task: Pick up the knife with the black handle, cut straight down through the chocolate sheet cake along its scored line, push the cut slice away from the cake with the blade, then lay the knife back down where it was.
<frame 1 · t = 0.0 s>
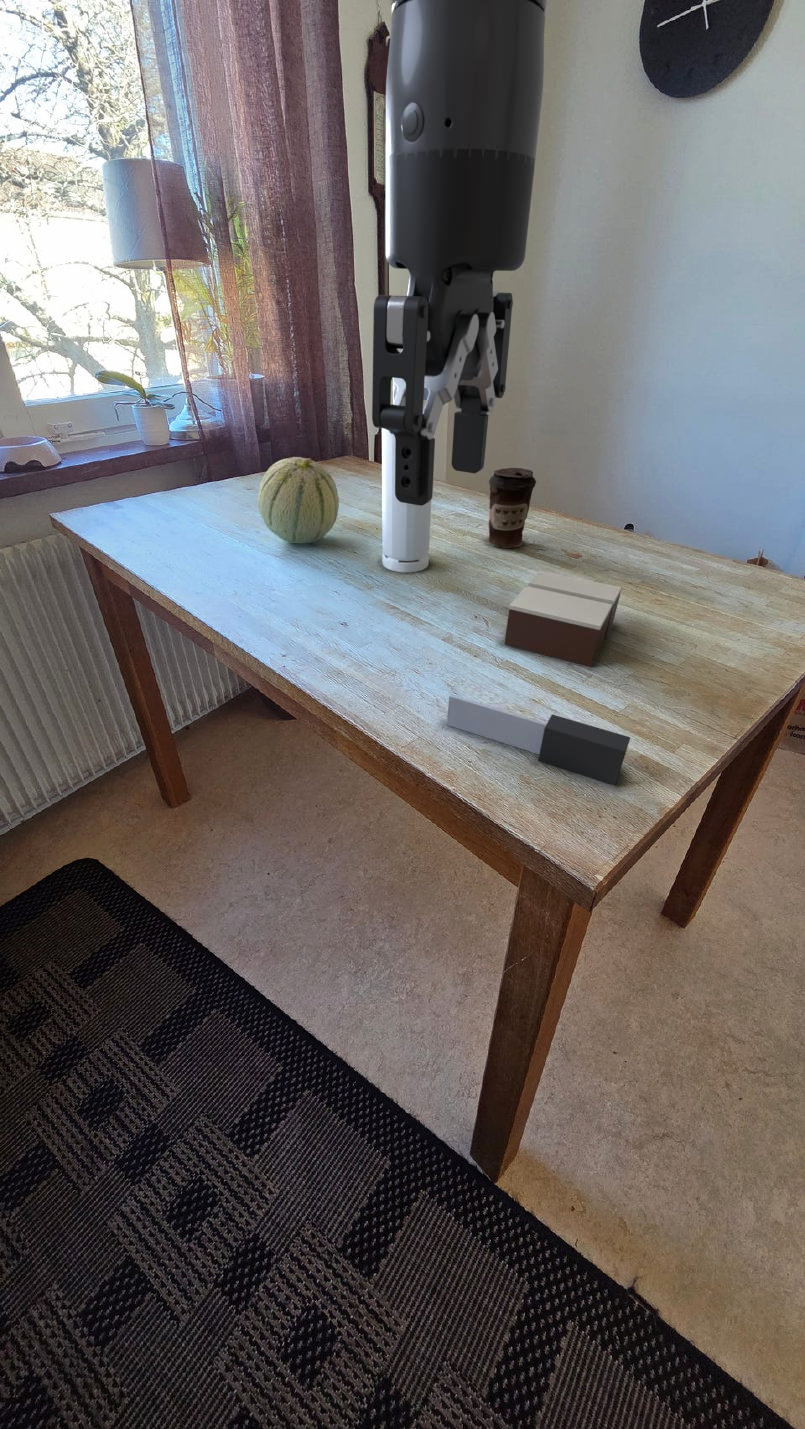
hand: (442, 485, 40), 30 cm above the table, tool pointing down, fingers open, 8 cm apart
knife: (578, 765, 63), on the table
coffee cup: (505, 544, 114), on the table
bottle: (405, 564, 106), on the table
cake slice: (567, 622, 89), on the table
cantaloupe: (302, 541, 114), on the table
cake: (553, 644, 83), on the table
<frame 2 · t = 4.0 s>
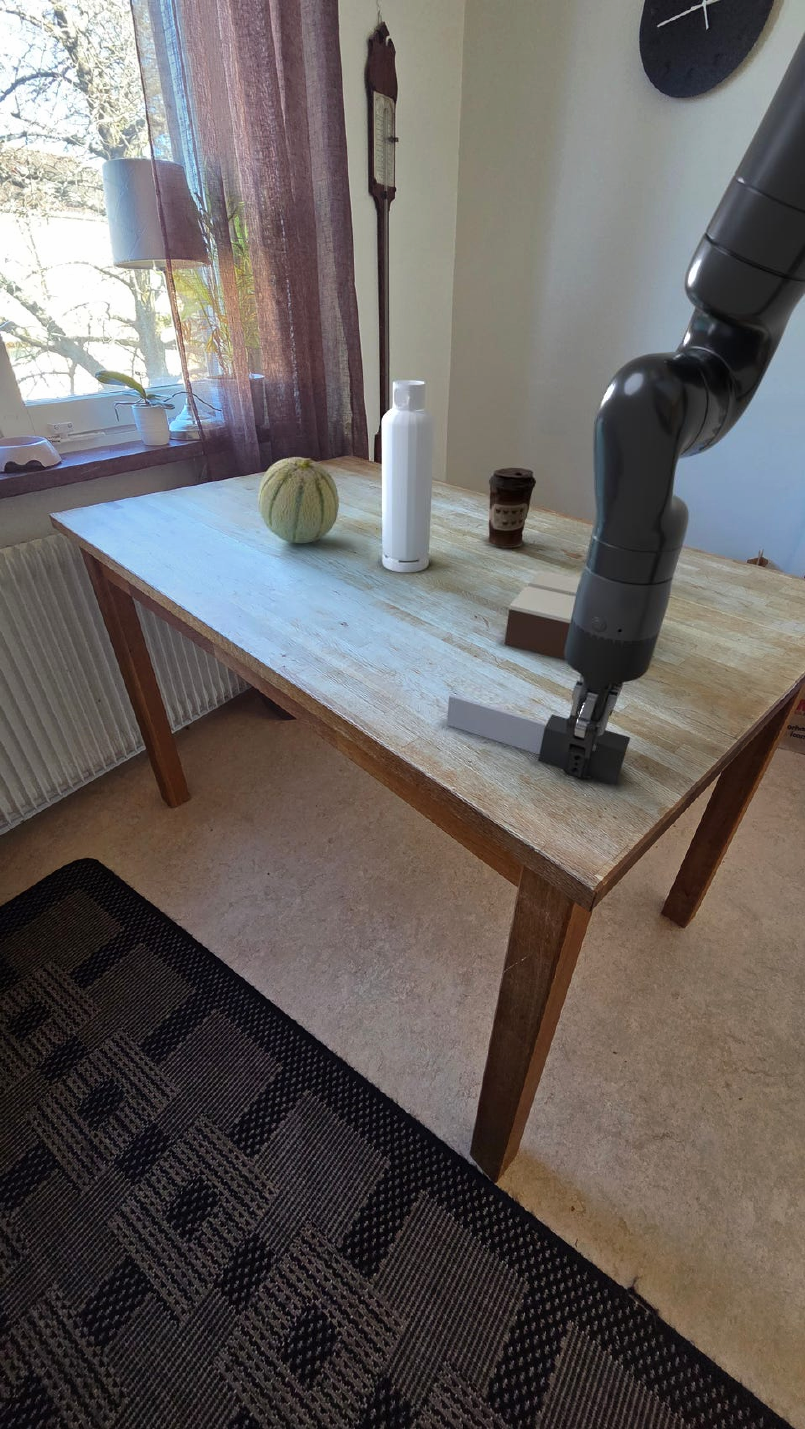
hand: (578, 764, 63), 0 cm above the table, tool pointing down, fingers closed on knife, 2 cm apart
knife: (578, 765, 63), on the table, touching gripper
everything else where it was.
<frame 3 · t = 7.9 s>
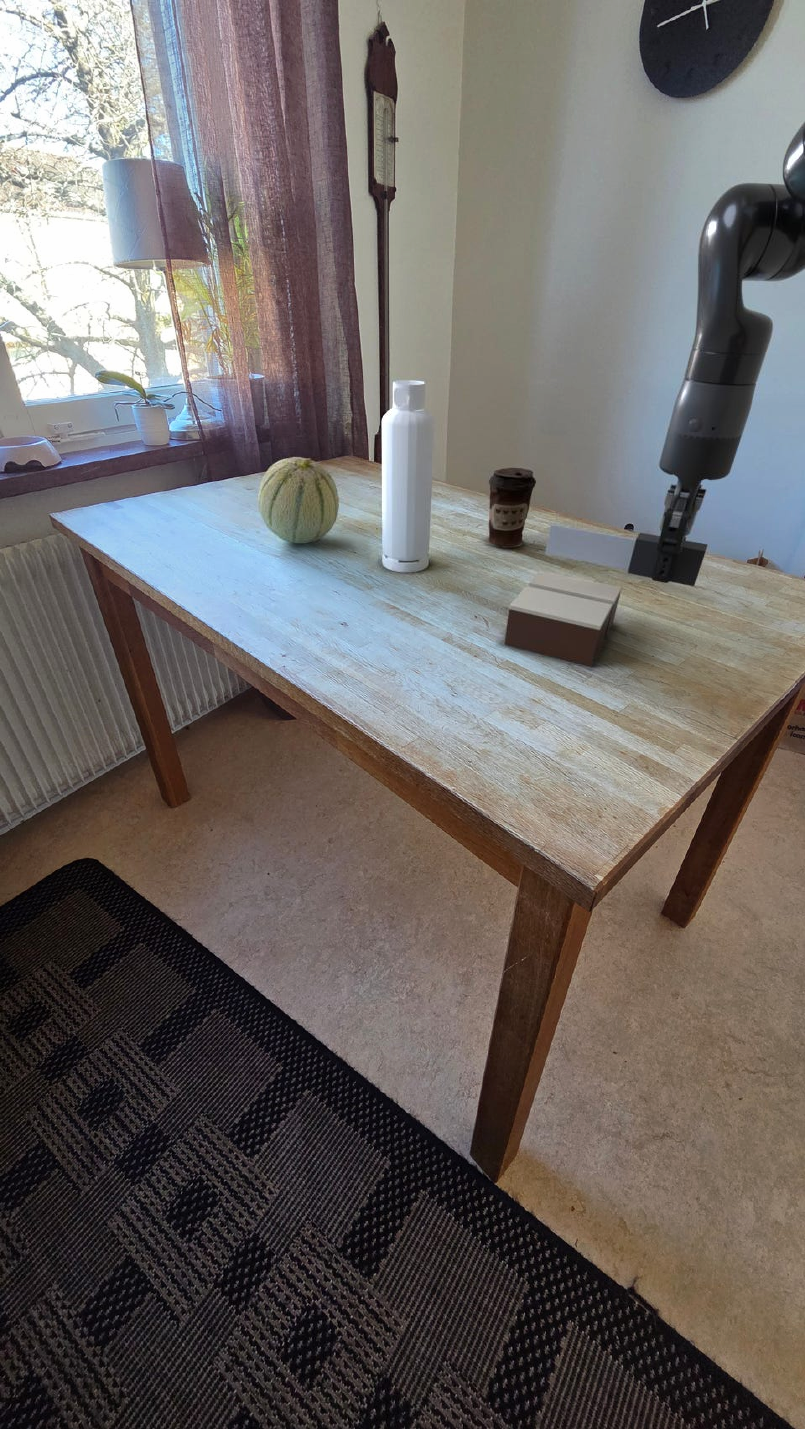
hand: (662, 575, 76), 11 cm above the table, tool pointing down, fingers closed on knife, 2 cm apart
knife: (661, 576, 76), point 11 cm above the table, touching gripper
everything else where it was.
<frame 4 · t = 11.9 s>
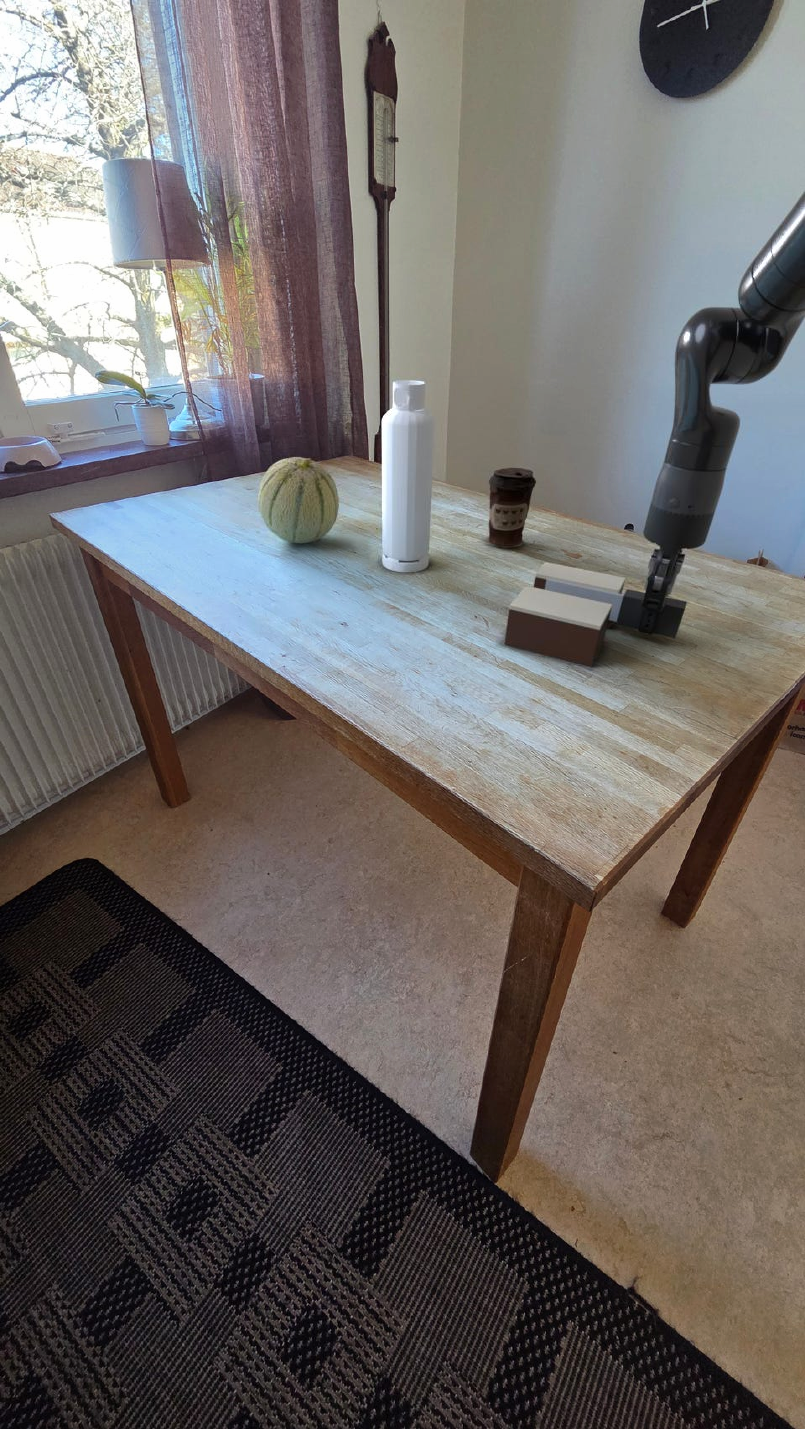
hand: (647, 627, 84), 2 cm above the table, tool pointing down, fingers closed on knife, 2 cm apart
knife: (646, 628, 84), point 2 cm above the table, touching cake slice, gripper
cake slice: (572, 612, 91), on the table, touching knife
everything else where it was.
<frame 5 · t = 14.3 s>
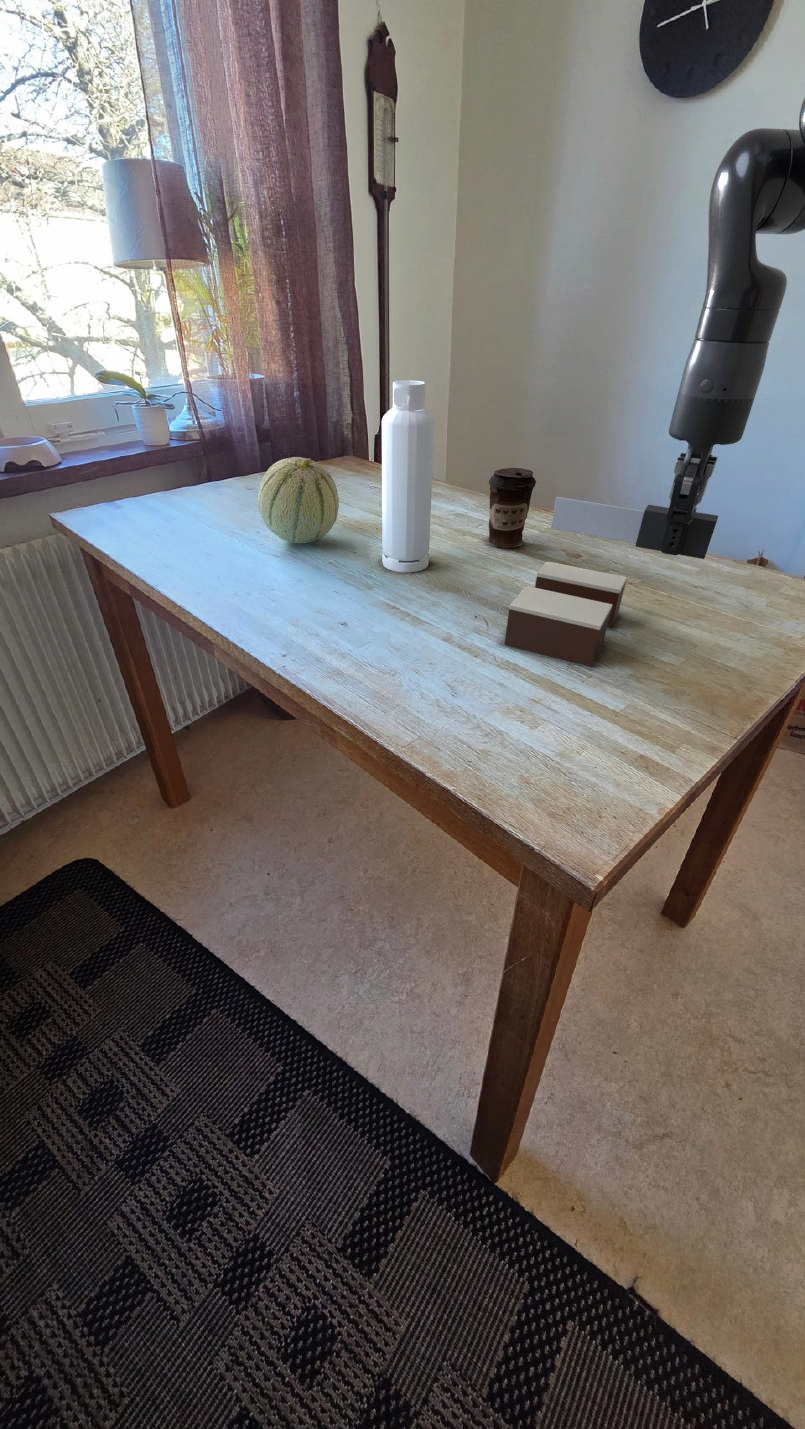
hand: (671, 548, 74), 14 cm above the table, tool pointing down, fingers closed on knife, 2 cm apart
knife: (670, 549, 74), point 14 cm above the table, touching gripper
cake slice: (574, 612, 91), on the table
everything else where it was.
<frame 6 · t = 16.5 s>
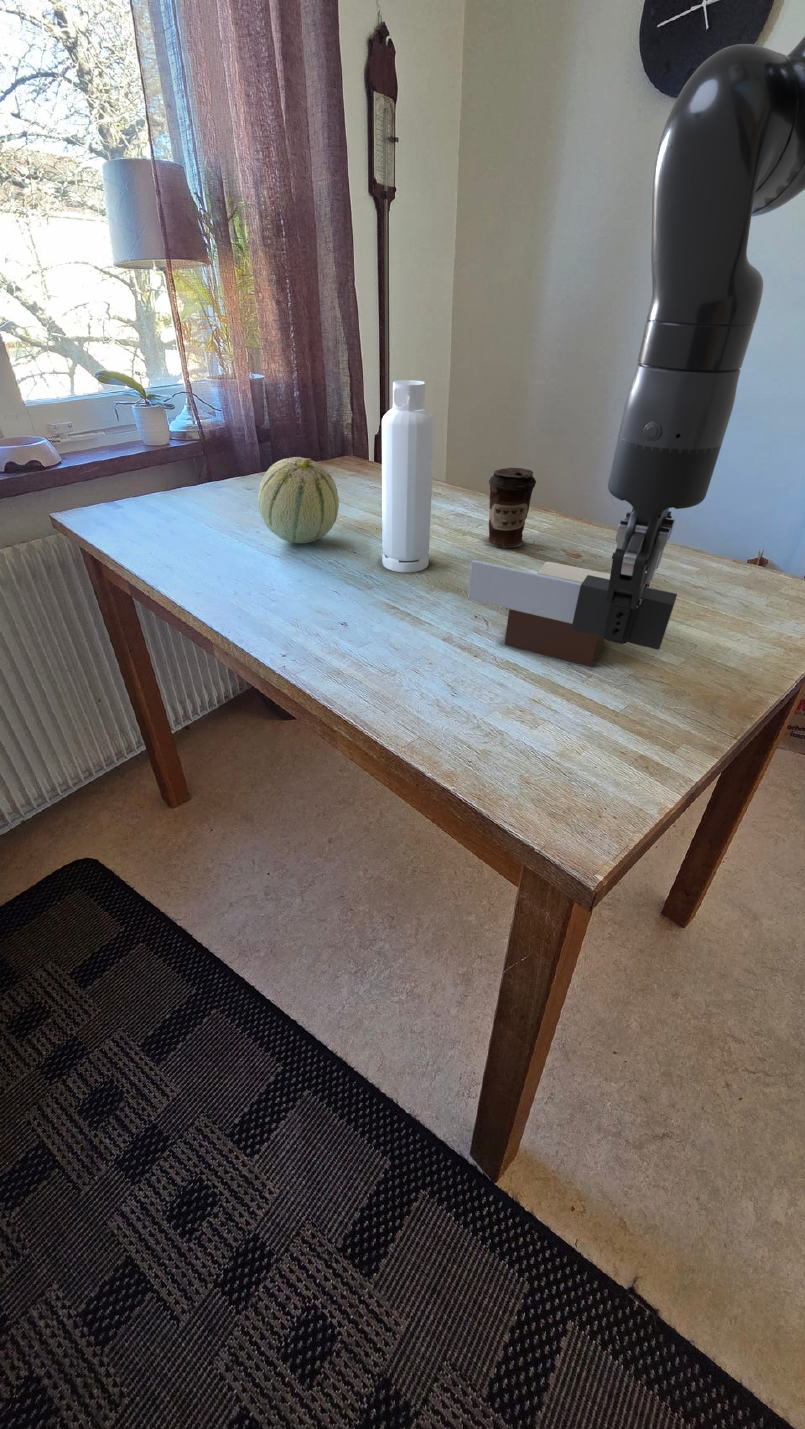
hand: (619, 632, 56), 14 cm above the table, tool pointing down, fingers closed on knife, 2 cm apart
knife: (616, 633, 56), point 14 cm above the table, touching gripper
everything else where it was.
when the fingers open (0 cm above the table, at t = 20.1 s): knife stays where it is, on the table.
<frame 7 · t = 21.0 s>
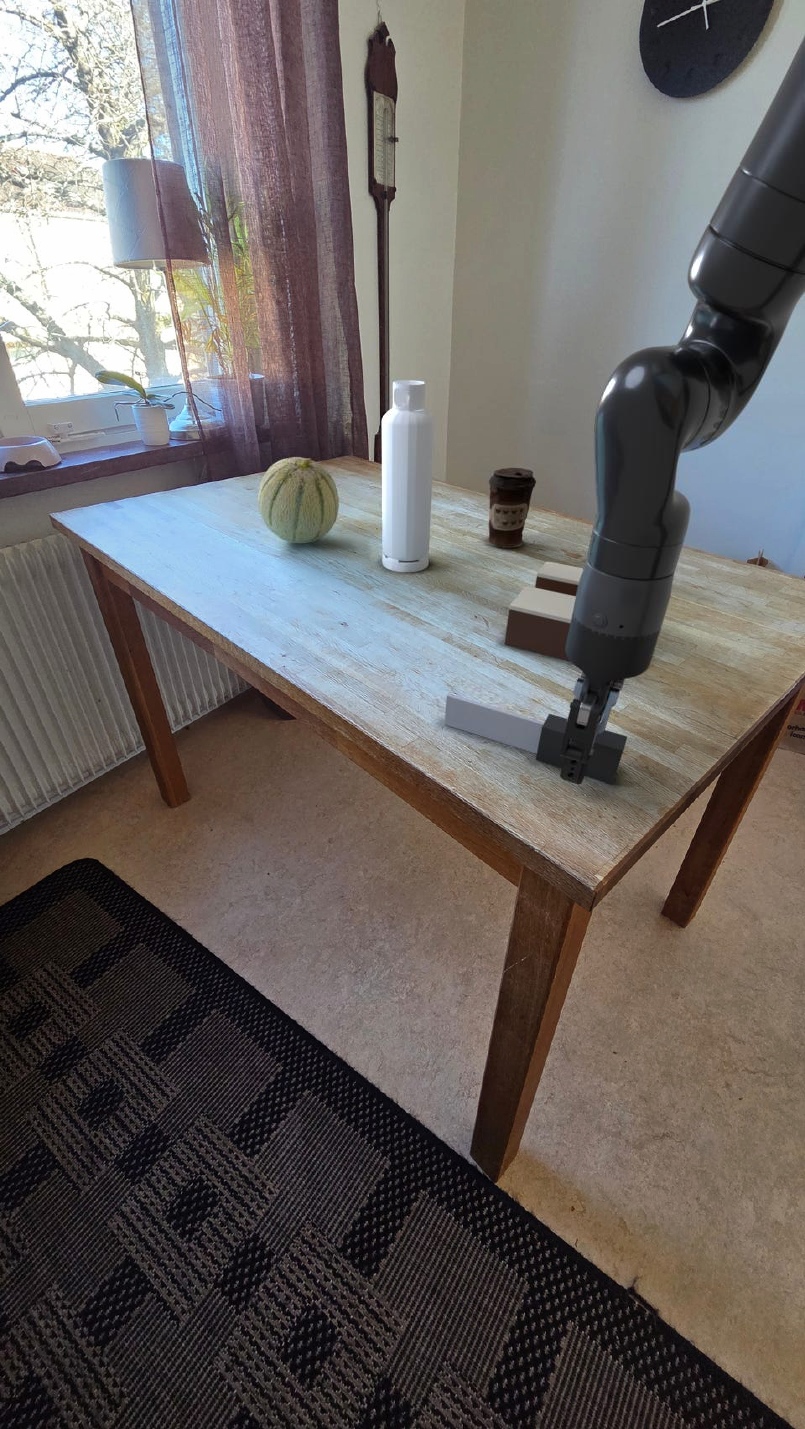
hand: (582, 755, 62), 1 cm above the table, tool pointing down, fingers open, 8 cm apart
knife: (576, 765, 63), on the table
everything else where it was.
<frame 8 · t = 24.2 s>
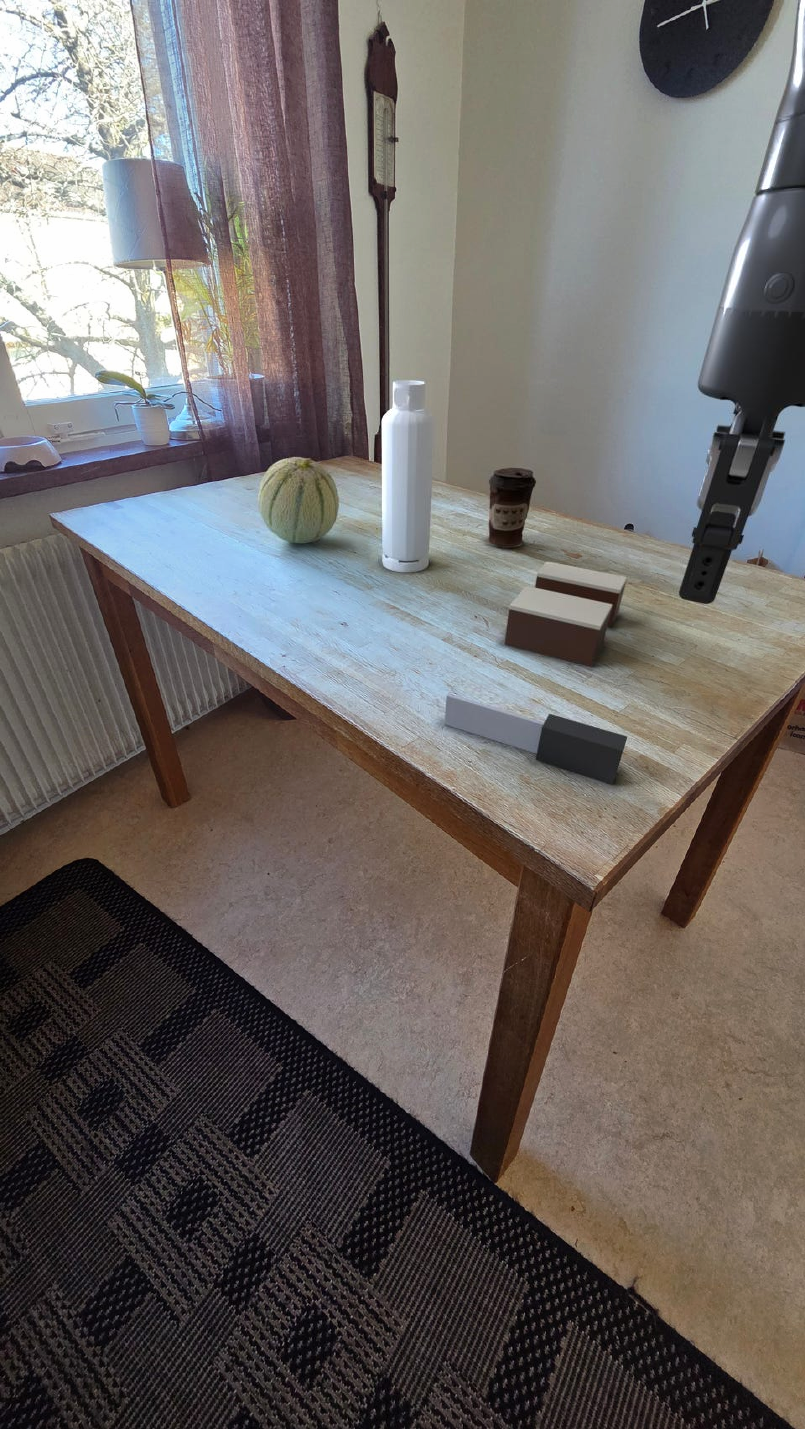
hand: (701, 577, 43), 24 cm above the table, tool pointing down, fingers open, 8 cm apart
nothing on the table moved.
at the end: cake slice moved 4.0 cm from its start; cake slice tilted 0°; knife inside the target area (0.3 cm from its centre), on the table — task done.
